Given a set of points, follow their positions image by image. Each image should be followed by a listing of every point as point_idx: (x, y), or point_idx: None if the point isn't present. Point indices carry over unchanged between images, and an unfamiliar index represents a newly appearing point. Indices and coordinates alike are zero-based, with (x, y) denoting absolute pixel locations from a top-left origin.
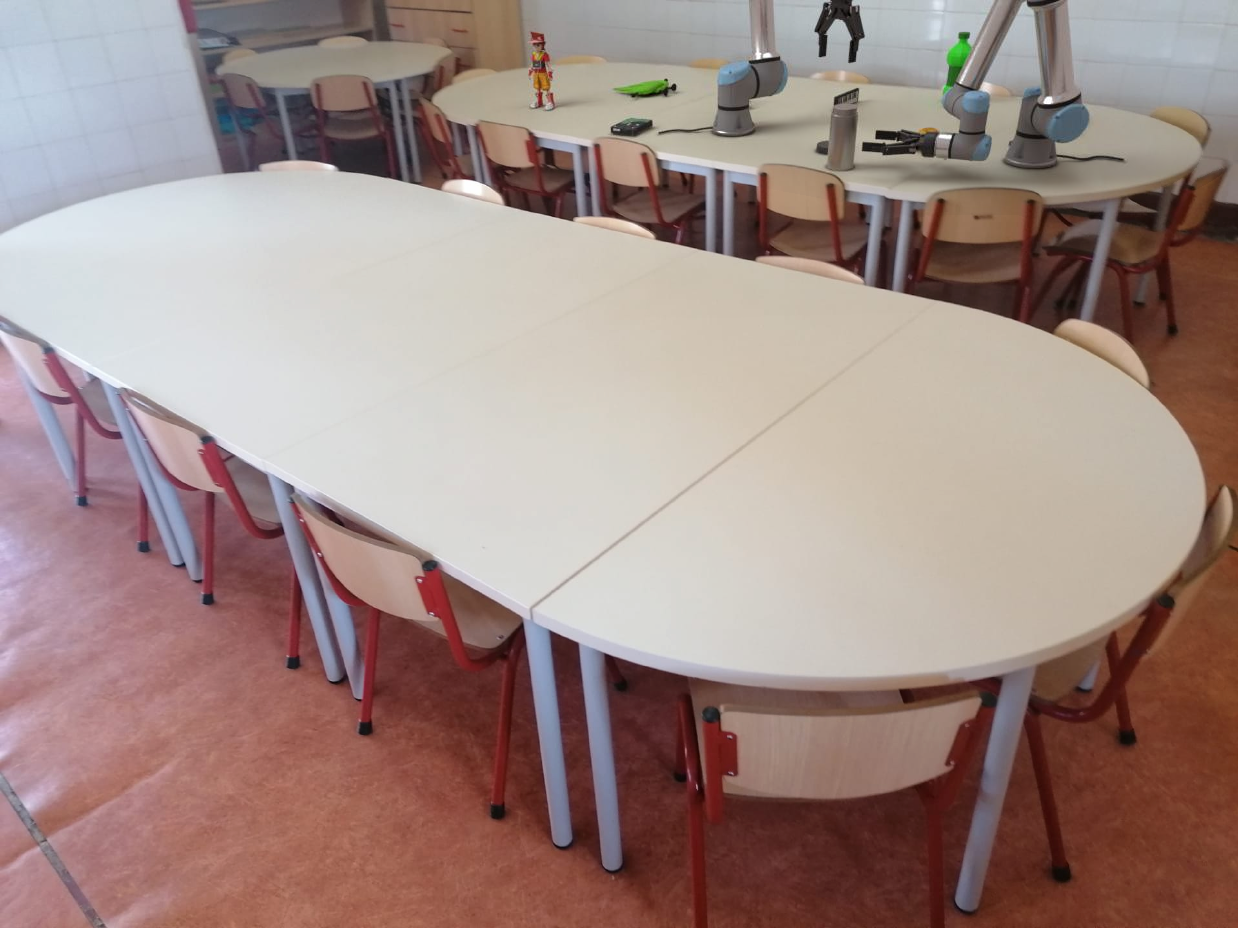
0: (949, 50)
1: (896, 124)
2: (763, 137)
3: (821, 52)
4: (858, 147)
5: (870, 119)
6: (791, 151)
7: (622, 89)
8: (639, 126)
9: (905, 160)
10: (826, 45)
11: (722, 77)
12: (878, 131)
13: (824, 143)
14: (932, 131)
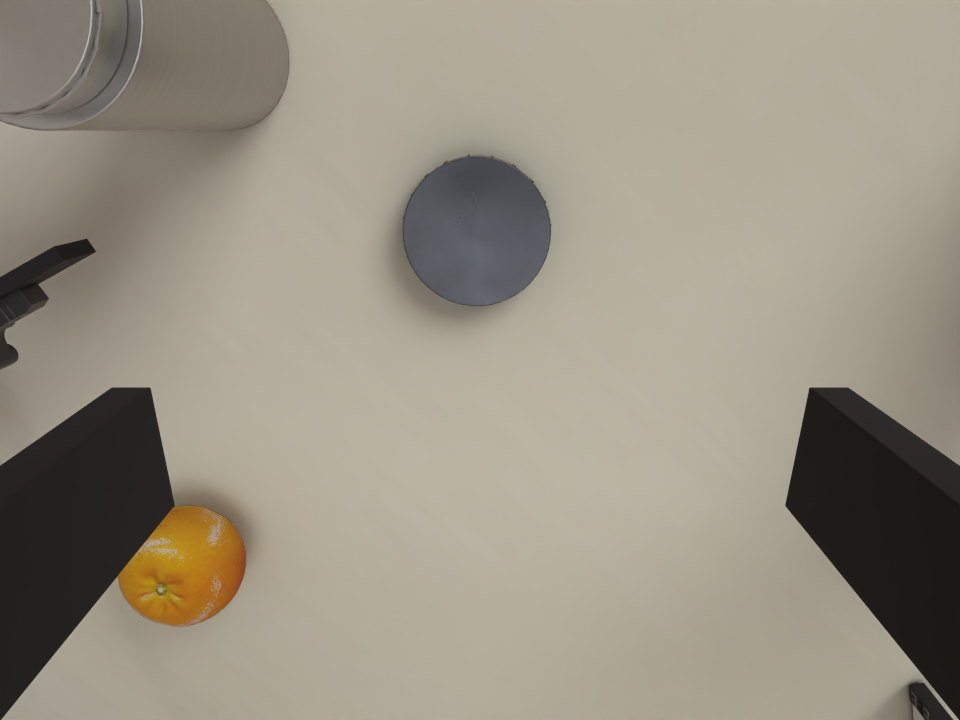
0: None
1: (569, 699)
2: (942, 145)
3: (850, 449)
4: (427, 372)
5: (702, 687)
6: (623, 63)
7: None
8: None
9: (130, 374)
10: (889, 621)
11: None
12: (41, 255)
13: (509, 219)
14: (134, 587)
